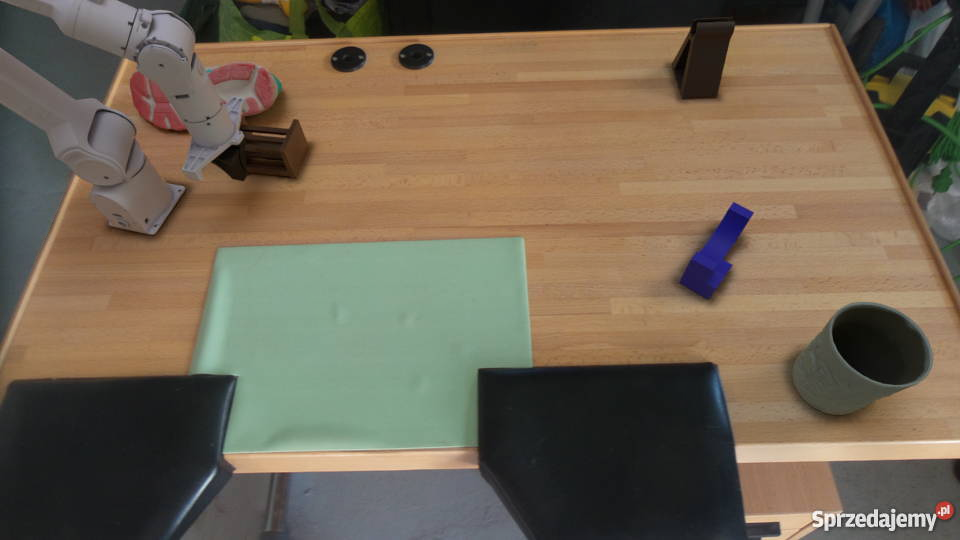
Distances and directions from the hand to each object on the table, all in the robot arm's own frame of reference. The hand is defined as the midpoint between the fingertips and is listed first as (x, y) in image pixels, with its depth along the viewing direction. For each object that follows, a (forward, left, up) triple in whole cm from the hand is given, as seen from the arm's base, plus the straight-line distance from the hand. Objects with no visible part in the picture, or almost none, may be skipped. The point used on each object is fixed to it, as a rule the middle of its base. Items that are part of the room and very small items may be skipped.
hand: (240, 176), depth 86 cm
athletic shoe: (+15, +15, -4) cm, 22 cm away
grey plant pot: (-12, -85, -4) cm, 86 cm away
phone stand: (+41, -66, -4) cm, 78 cm away
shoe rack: (+7, -1, -4) cm, 8 cm away
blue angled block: (+3, -71, -4) cm, 71 cm away
